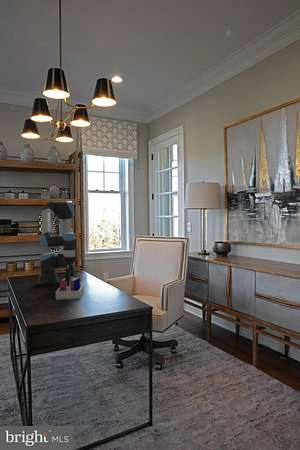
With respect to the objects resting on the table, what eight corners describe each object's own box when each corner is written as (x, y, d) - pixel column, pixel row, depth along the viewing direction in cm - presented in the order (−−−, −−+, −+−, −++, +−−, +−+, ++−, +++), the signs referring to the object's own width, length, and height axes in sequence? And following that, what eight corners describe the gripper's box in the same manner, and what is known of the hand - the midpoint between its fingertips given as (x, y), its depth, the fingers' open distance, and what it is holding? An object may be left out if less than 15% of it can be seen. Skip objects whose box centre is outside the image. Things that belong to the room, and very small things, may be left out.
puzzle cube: (74, 296, 213) (74, 280, 212) (59, 295, 214) (59, 280, 214) (80, 292, 223) (80, 277, 222) (66, 292, 224) (65, 277, 224)
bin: (61, 292, 227) (61, 285, 227) (83, 291, 229) (83, 284, 228) (55, 299, 208) (55, 291, 208) (80, 298, 210) (79, 291, 209)
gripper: (66, 254, 230) (67, 284, 230) (59, 259, 205) (60, 293, 206) (77, 253, 230) (78, 284, 231) (72, 258, 205) (73, 292, 206)
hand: (70, 288), depth 218 cm, fingers open, 13 cm apart
